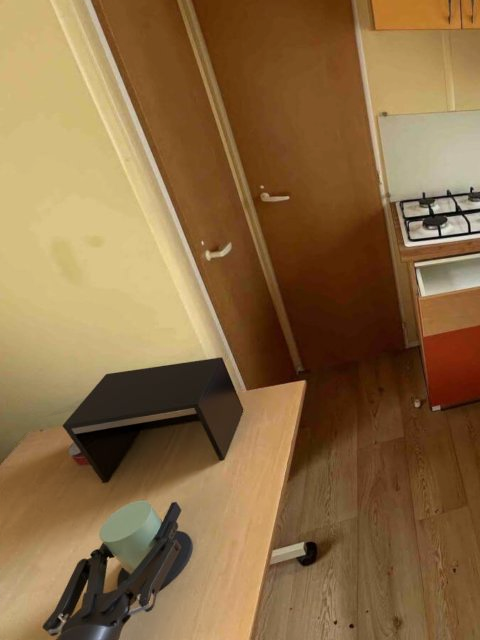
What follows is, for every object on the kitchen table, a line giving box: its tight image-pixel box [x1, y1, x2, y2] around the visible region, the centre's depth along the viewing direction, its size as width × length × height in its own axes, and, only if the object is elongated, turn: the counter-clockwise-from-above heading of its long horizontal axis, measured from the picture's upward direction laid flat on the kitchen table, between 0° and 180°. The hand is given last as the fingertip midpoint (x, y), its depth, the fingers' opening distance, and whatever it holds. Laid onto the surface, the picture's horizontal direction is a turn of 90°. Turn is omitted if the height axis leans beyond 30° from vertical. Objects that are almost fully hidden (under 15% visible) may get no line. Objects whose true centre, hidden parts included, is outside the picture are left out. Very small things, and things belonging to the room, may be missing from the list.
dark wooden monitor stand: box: [62, 356, 245, 484], centre depth 97 cm, size 15×24×18 cm, turn 104°
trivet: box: [116, 530, 194, 600], centre depth 78 cm, size 11×11×1 cm
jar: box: [98, 500, 163, 579], centre depth 75 cm, size 7×7×12 cm
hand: (153, 511), depth 79 cm, fingers closed on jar, 7 cm apart
